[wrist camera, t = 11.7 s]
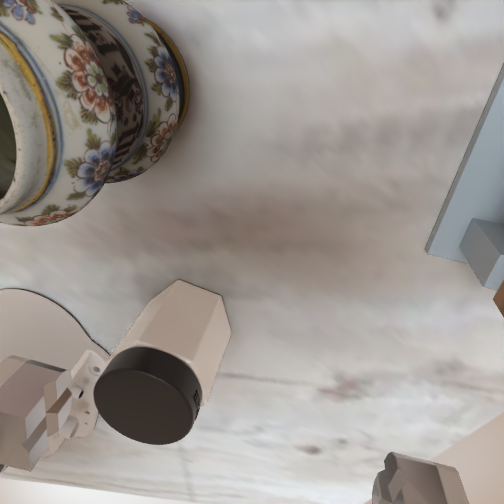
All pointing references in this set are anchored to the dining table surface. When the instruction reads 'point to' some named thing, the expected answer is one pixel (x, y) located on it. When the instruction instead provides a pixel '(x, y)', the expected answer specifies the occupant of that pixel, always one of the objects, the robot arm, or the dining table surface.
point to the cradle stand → (477, 200)
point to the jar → (164, 365)
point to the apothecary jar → (81, 103)
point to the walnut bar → (500, 298)
